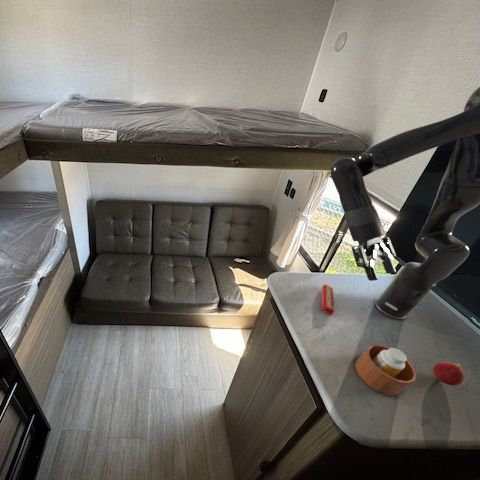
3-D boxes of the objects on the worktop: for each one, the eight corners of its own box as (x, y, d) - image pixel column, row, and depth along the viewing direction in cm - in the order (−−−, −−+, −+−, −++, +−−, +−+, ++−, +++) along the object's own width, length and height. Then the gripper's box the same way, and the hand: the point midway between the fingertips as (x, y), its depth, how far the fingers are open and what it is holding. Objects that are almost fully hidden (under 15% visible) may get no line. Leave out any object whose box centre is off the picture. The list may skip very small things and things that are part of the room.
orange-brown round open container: (369, 352, 80) (381, 339, 76) (408, 386, 72) (424, 373, 68) (346, 364, 76) (358, 351, 72) (385, 402, 68) (401, 389, 64)
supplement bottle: (393, 381, 72) (416, 362, 67) (378, 385, 71) (399, 366, 65) (376, 363, 77) (395, 343, 71) (361, 366, 76) (380, 346, 70)
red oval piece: (457, 392, 71) (479, 378, 67) (435, 387, 72) (455, 373, 68) (443, 372, 76) (462, 357, 71) (422, 368, 77) (440, 353, 72)
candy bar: (332, 317, 91) (335, 312, 89) (320, 313, 92) (324, 308, 90) (330, 290, 103) (333, 284, 101) (320, 286, 104) (323, 281, 102)
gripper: (361, 223, 68) (382, 282, 66) (392, 215, 73) (412, 269, 71) (335, 230, 75) (353, 283, 73) (364, 222, 80) (382, 271, 78)
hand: (382, 276), depth 72 cm, fingers open, 8 cm apart
